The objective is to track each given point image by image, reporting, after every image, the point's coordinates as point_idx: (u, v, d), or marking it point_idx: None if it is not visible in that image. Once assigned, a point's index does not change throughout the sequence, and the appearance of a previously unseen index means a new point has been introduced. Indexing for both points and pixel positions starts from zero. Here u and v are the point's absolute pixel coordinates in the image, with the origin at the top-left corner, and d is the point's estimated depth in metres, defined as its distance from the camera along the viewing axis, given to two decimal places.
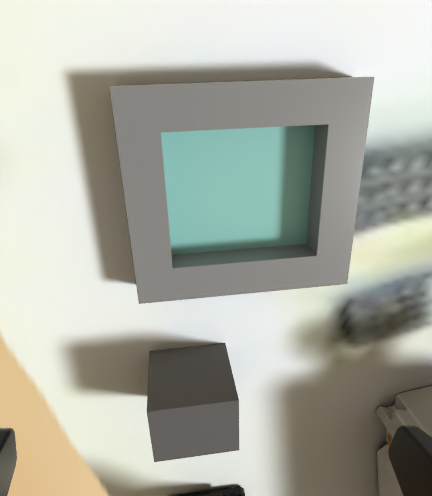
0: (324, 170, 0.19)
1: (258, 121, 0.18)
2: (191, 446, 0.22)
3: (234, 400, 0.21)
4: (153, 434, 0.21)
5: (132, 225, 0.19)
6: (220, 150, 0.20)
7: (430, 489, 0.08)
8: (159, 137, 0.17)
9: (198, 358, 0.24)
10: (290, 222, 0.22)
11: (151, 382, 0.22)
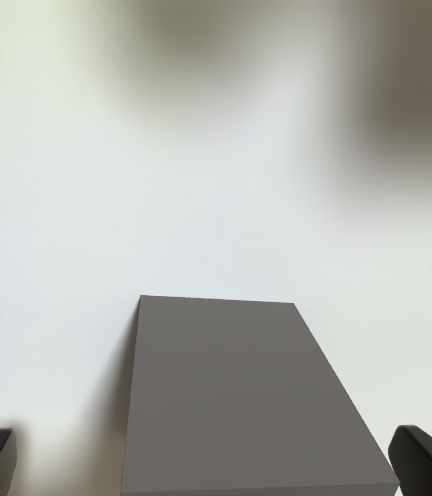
0: None
1: None
2: None
3: None
4: None
5: None
6: None
7: (430, 489, 0.08)
8: None
9: None
10: None
11: None
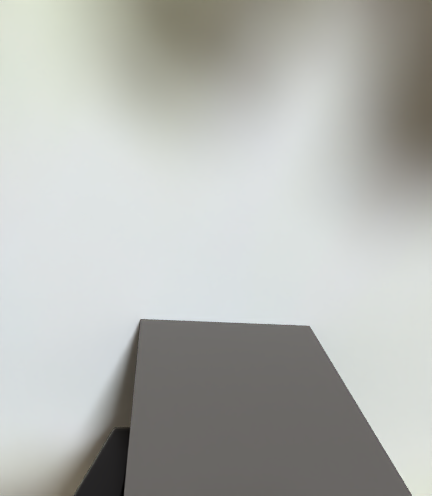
0: None
1: None
2: None
3: None
4: None
5: None
6: None
7: None
8: None
9: None
10: None
11: None
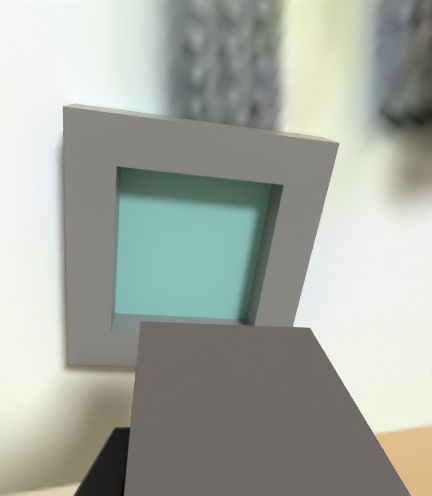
0: (172, 172, 0.15)
1: (107, 244, 0.16)
2: None
3: None
4: None
5: None
6: (142, 263, 0.19)
7: None
8: (115, 333, 0.18)
9: None
10: (239, 195, 0.18)
11: None
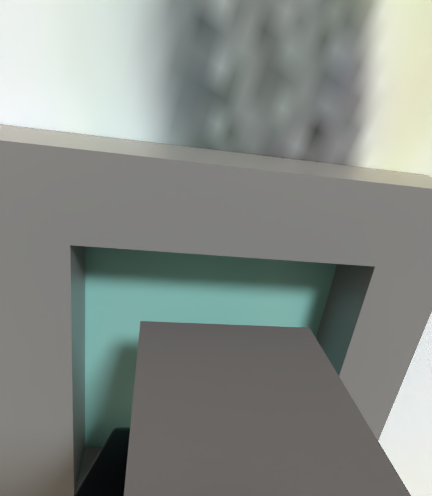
0: (176, 252, 0.08)
1: (60, 374, 0.09)
2: None
3: None
4: None
5: None
6: (127, 377, 0.12)
7: None
8: None
9: None
10: (286, 270, 0.11)
11: None
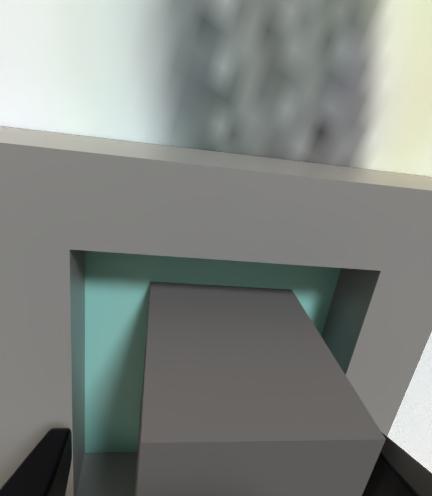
0: (178, 256, 0.08)
1: (59, 380, 0.09)
2: None
3: (141, 451, 0.06)
4: None
5: None
6: (127, 382, 0.11)
7: (382, 491, 0.08)
8: None
9: None
10: (290, 274, 0.11)
11: None
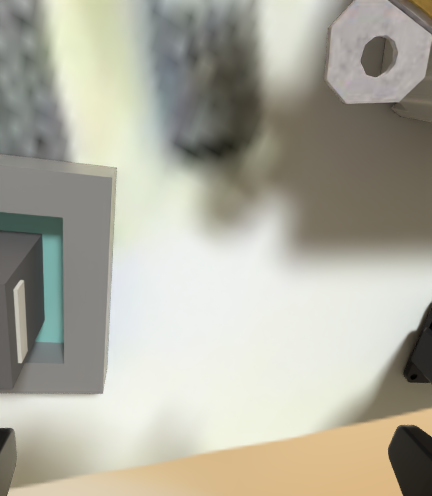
0: None
1: None
2: None
3: None
4: None
5: None
6: None
7: (430, 489, 0.08)
8: None
9: None
10: (38, 224, 0.18)
11: None
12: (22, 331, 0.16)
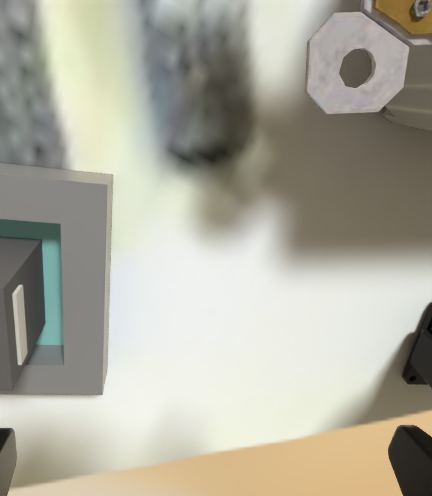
0: None
1: None
2: None
3: None
4: None
5: (13, 391, 0.20)
6: None
7: (430, 489, 0.08)
8: None
9: None
10: (38, 230, 0.19)
11: None
12: (21, 334, 0.16)
